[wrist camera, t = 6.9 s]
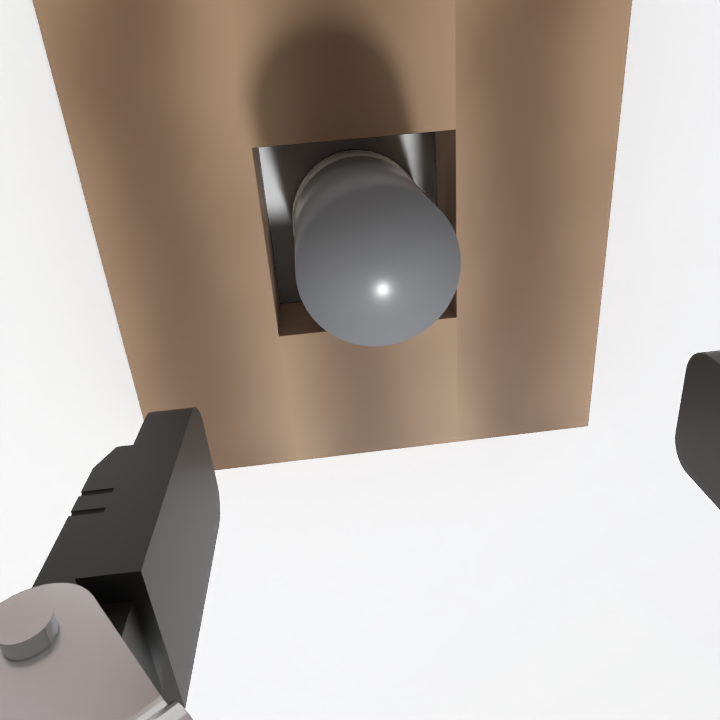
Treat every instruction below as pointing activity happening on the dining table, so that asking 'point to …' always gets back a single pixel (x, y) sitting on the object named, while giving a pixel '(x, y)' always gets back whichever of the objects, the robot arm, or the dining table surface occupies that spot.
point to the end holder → (340, 122)
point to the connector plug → (371, 250)
